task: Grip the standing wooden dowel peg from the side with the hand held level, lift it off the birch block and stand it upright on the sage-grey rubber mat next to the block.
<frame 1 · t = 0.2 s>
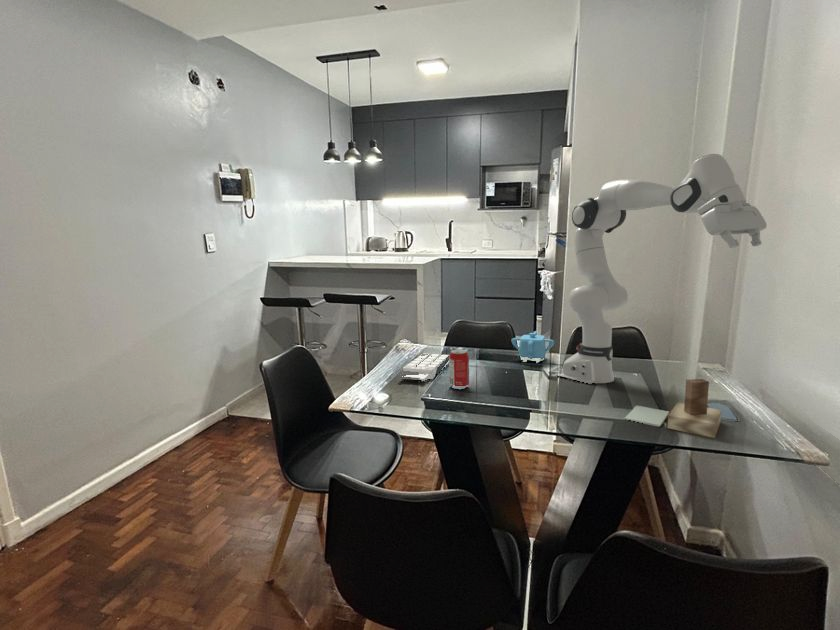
hand: (746, 246, 128), 54 cm above the table, tool tilted 25°, fingers open, 8 cm apart
soda can: (459, 388, 179), on the table
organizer: (424, 374, 202), on the table
wooden dowel peg: (695, 412, 137), point 4 cm above the table, touching birch block
birch block: (694, 425, 138), on the table
rubber mat: (647, 416, 145), on the table
smartphone: (720, 413, 148), on the table
teapot: (532, 360, 221), on the table
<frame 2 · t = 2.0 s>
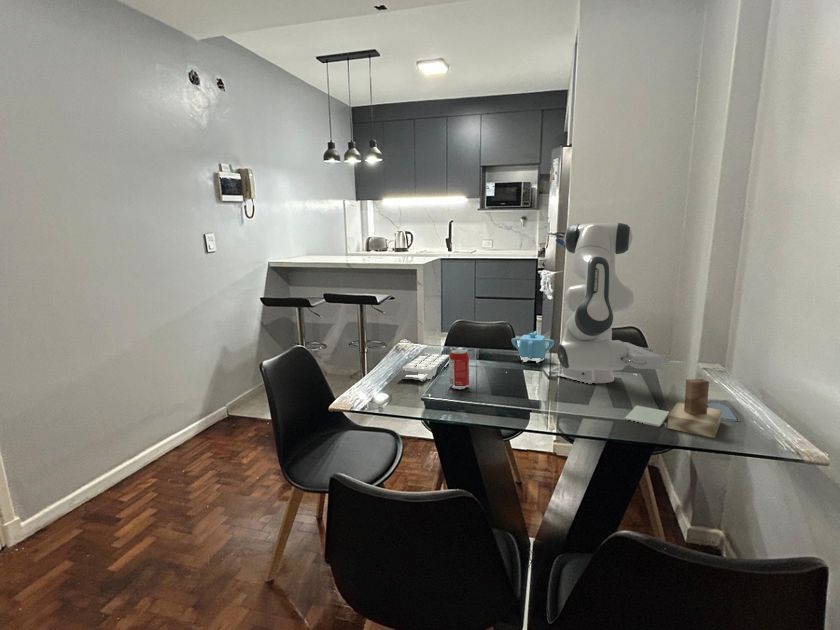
hand: (660, 354, 134), 22 cm above the table, tool horizontal, fingers open, 8 cm apart
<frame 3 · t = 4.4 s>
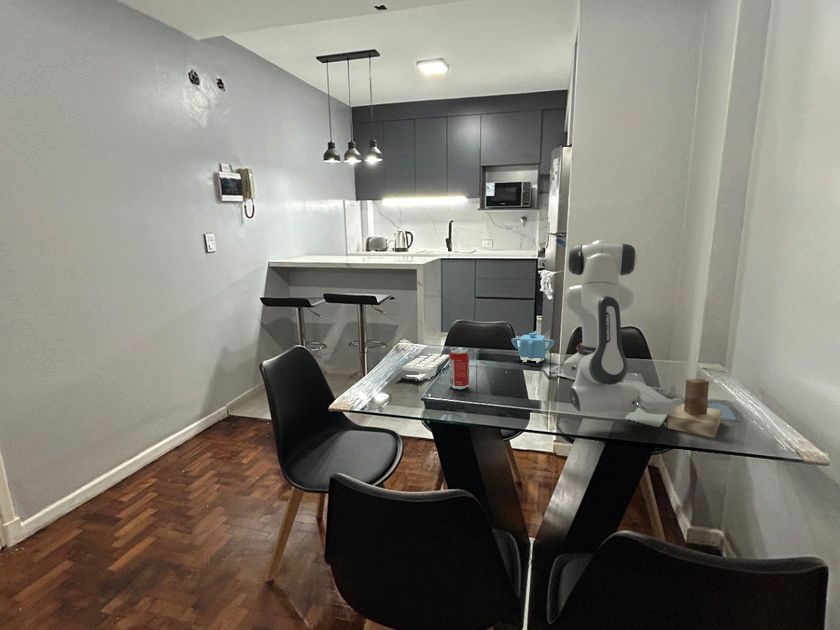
hand: (671, 396, 136), 9 cm above the table, tool horizontal, fingers open, 8 cm apart
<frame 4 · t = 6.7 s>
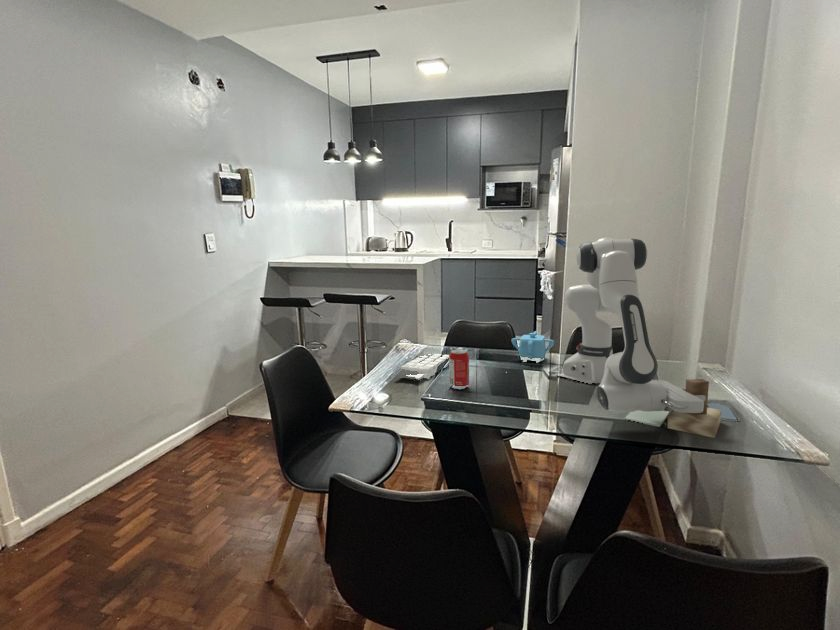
hand: (699, 395, 136), 10 cm above the table, tool horizontal, fingers closed on wooden dowel peg, 3 cm apart
wooden dowel peg: (695, 412, 137), point 4 cm above the table, touching birch block, gripper
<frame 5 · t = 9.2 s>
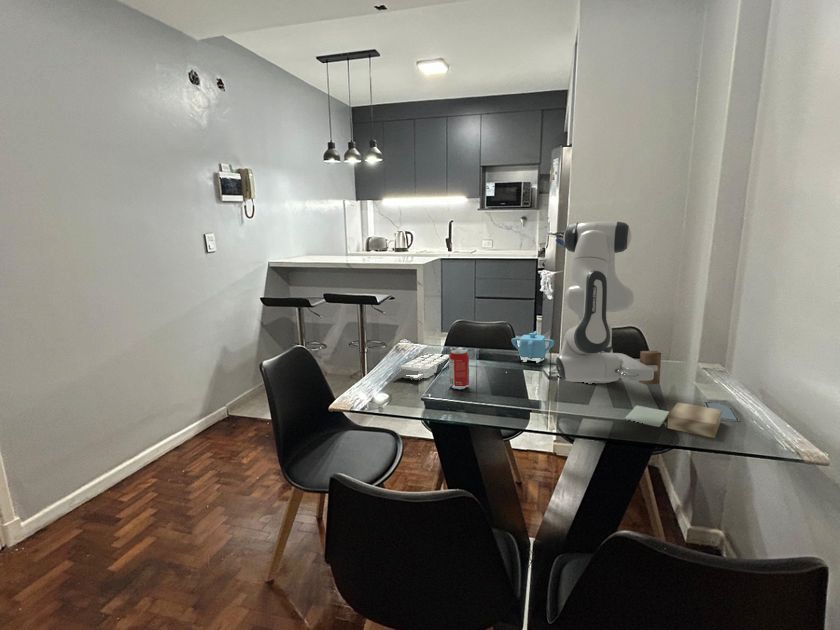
hand: (652, 365, 143), 17 cm above the table, tool horizontal, fingers closed on wooden dowel peg, 3 cm apart
wooden dowel peg: (649, 382, 144), point 11 cm above the table, touching gripper
when the fingers open (7 cm above the table, at t = 11.6 s): wooden dowel peg stays where it is, resting on rubber mat.
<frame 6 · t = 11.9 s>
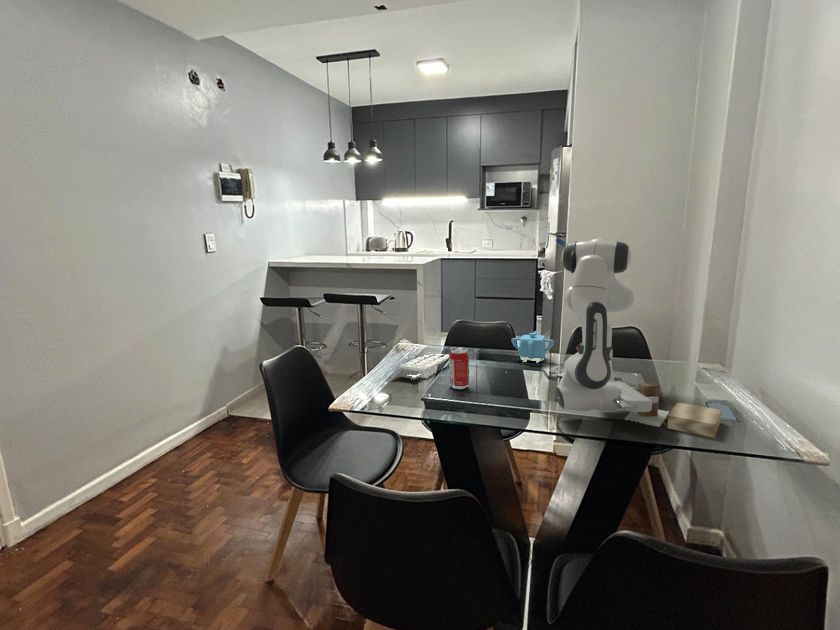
hand: (651, 395, 144), 7 cm above the table, tool horizontal, fingers open, 6 cm apart
wooden dowel peg: (647, 414, 145), point 1 cm above the table, touching rubber mat
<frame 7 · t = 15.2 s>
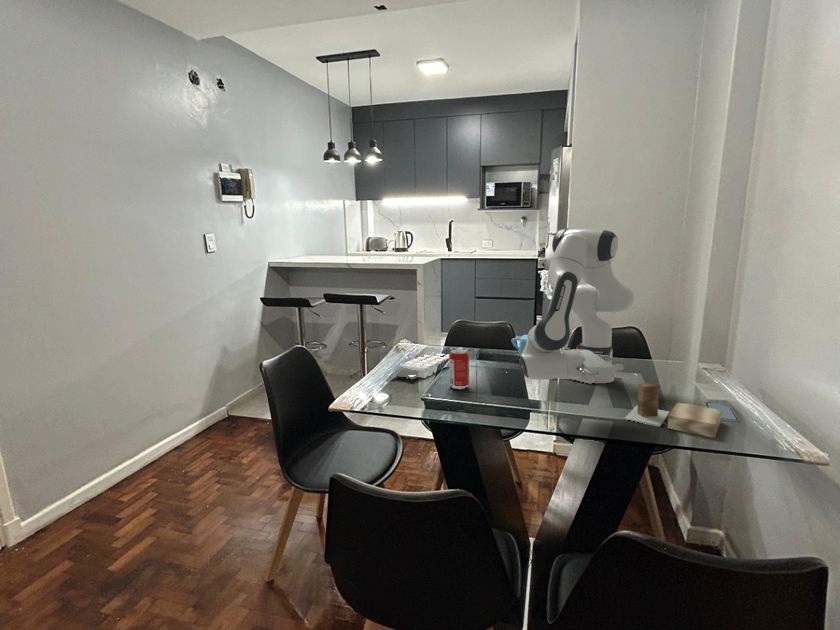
hand: (615, 362, 143), 18 cm above the table, tool horizontal, fingers open, 8 cm apart
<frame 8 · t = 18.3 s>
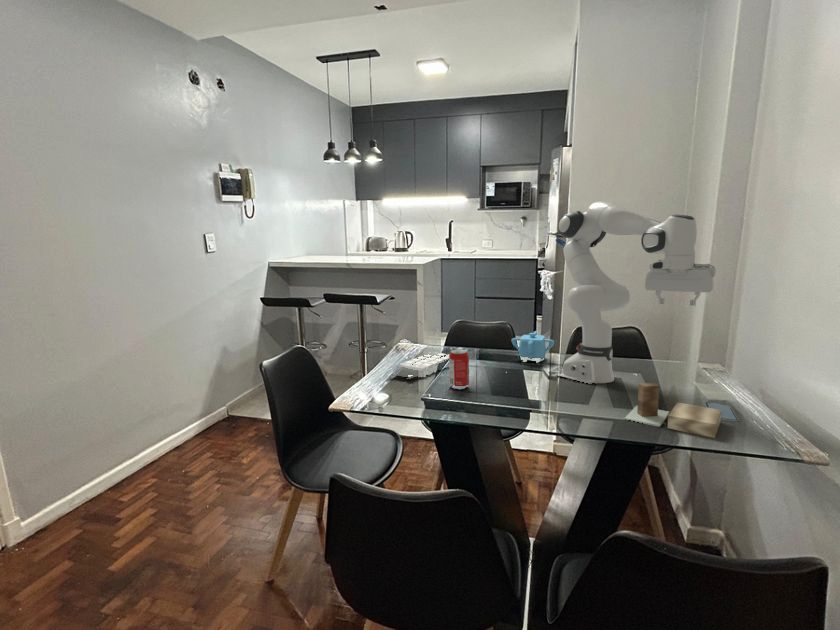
hand: (676, 304, 154), 34 cm above the table, tool pointing down, fingers open, 8 cm apart
at the end: wooden dowel peg inside the target area on the rubber mat (0.0 cm from its centre), point 0.6 cm above the rubber mat's base; wooden dowel peg tilted 0°; the gripper is holding nothing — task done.
